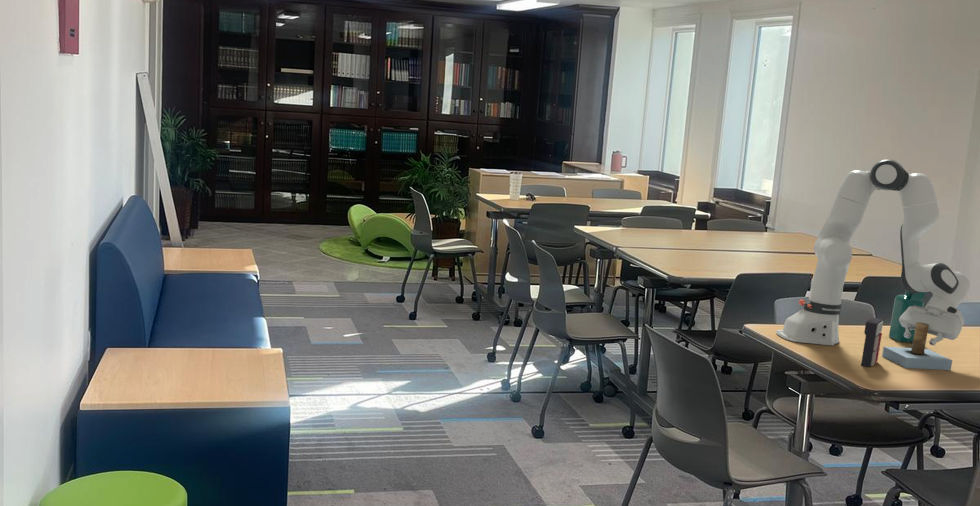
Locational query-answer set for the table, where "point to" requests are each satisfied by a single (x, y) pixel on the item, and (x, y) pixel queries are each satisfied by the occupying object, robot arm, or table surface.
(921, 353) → the peg
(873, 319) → the calculator
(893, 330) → the teal bottle
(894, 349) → the seat board
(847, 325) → the table surface
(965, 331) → the table surface
